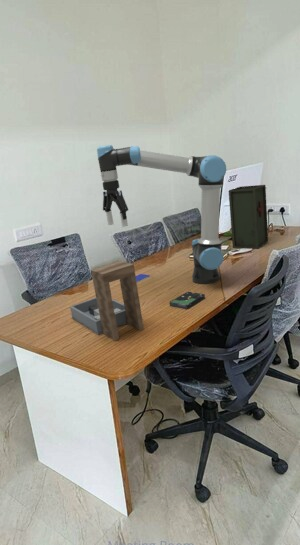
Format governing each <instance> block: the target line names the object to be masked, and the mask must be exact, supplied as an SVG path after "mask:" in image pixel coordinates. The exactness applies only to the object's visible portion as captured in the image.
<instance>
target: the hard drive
mask: <svg viewBox="0 0 300 545" xmlns="http://www.w3.org/2000/svg"><path fill="white" fill-rule="evenodd" d="M135 276H136V283H140V282H141V281H144V280H146V279H147V278H150V277H151V275H150V274H144V273H139V274H137V275H135Z"/></svg>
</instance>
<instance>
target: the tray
mask: <svg viewBox="0 0 300 545" xmlns="http://www.w3.org/2000/svg"><path fill="white" fill-rule="evenodd" d="M112 302H113V307H114V309H116V308H118V309H120V310H122V311H120V312H117V313H115V318H116V324H117V328H119V327H121V326H124V325H126V324H127V319H126V314H125V308H124V302H123V303H122V302H120V301H118V300H115V299H114V298H112ZM93 305H95V306H97V307H98V304H97V299H96V297H94V298H90V299H87V300H84V301H82V302H79V303H76V304H74V305H73V304H72V305H71V306H69V309H70V314H71V317H72V319H73V320H74V321H76V322H77V323H79V324H81V325H82V326H84V327H86V328H87V329H88V330H90V331H92V332H93V333H95V334H96V335H98V336H100V335H102V334H103V330H102V325H101V320H100V319H99V320H95V319H94V317H95V316H93V315H92V314H90V313H89V308H88V307H90V306H93Z"/></svg>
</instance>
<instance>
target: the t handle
mask: <svg viewBox="0 0 300 545" xmlns="http://www.w3.org/2000/svg"><path fill="white" fill-rule="evenodd" d="M88 308H89V313H90V314H92V315H93V316H95V317H94V319H95V320H99V319H100V315H99V309H98V307H97V306H95V305H93V306H90V307H88ZM120 311H122V310H120V309H118V308H116V309H114V313H117V312H120Z"/></svg>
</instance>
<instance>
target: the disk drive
mask: <svg viewBox="0 0 300 545" xmlns="http://www.w3.org/2000/svg"><path fill="white" fill-rule="evenodd" d="M205 299H206V295H205V293H199V292H194V293H193V292H191V291H186V292H185V293H182V294H181V295H179V296H177V297H176V298H173V299H171V301H169V306H170V307H172V308H177V309H181V310H183V309H184V310H189V309H190V308H192V307H194V306H195V305H197V304H199V303H200V302H201V301H203V300H205Z"/></svg>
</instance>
